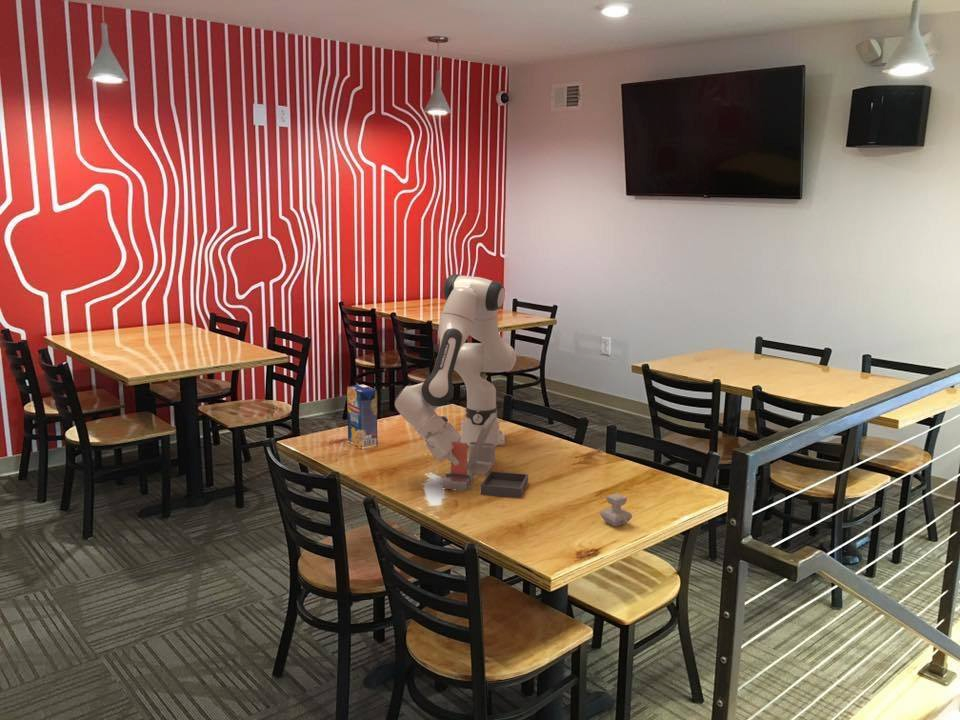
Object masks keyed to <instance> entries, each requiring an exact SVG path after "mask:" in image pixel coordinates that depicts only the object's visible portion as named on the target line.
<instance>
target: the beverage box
mask: <svg viewBox="0 0 960 720" xmlns="http://www.w3.org/2000/svg"><path fill="white" fill-rule="evenodd" d="M346 395H347V397H346V400H347V401H346V402H347V441H348V440H349V441H350V442H352V443H354V444H356V445H358V446H359V447H361V448H362V447H368V446H373V445H378V389H376V388H373V387H370V386H368V385H366V384H364V383H363V384H355V385H349V386H347V387H346Z"/></svg>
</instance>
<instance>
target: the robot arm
mask: <svg viewBox="0 0 960 720" xmlns="http://www.w3.org/2000/svg"><path fill="white" fill-rule="evenodd" d="M442 290H443V291H442V295H443V297H444V299H445V303H444V306H443V309H442V312H441V315H440V319H439V323H438V330H437V331H438V332H437V334H438V335H437V336H438V338H439V349H438V354H437V356H436V359H435V364H434V366H433V369H432V371H431V373H430V374H429V375H428V376H427V377H426V378H425V380H424V381H422V382H421V383H417V384H413V385H406V386H404V387H403V388H402V389H401V390H400V391H399V393H398V394H397V395H396V397H395V399H394V407H395V409H396V410H397V412H398V413H399V414H400V416H401V417H402V418H403V419H404V420H405V421H406V422H407V423H408V424H410V425H411V426H412V428H413V429H414V431H415V432H416V433H417V434H418V435H419V437H421V439H423V440H424V442H425V446H426V448H427V449H428V450H429V452H430V454H431V455H433V456H434V457H433V458H435V459H436V460H437V461H440V462H441V461H442V460H444V459H446V460H447V461H449V462H450V463H451V462H452V463H453V464H454V465H455V466H456V465H458V464H459V462H460V460H459V459H458V458H456V457H454V456H453V455H452V453H451V450H452V449H453V448H454V446H453V445H452V442H461V443H467V447H468V444H469V443H470V442H477V439H478V436H479V434H480V431H481V429H482V427H483V425H484V423H485V421H486V420H487V419H488V418H489V417H490V416H491V415H492V413H494V414H496V415H497V417H496V420H495V422H494V424H493V426H492V428H491V430H490V432H489V434H488V436H487V438H486V440H485V442H484V443H492V444H495V447H496V446H497V447H498V446H504V445H505V444H506V439H505V438H506V436H505V435H506V434H505V431H503V430H500V420H499V418H498V409H497V390H496V387H495V385H494V384H493V383H492V382H490V381H488V380H487V379H484V378H483V377H481V375H480V374H481V373H504V372H509V371H511V370H513V368H514V366H515V364H516V362H517V353H516V351H515V349H514V348H513V346H511V345H510V344H508V343H507V342H506V341H505V340H504V339H503V338H502V336H501V334H500V332H499V331H500V330H499V324H498V323H499V322H498V321H499V319H498V317H499V315H498V313H499V311H498V310H499V309H501V308H502V306H503V305H504V302H505V299H506V298H505V297H506V289H505V287H504V285H503V283H501V282H499V281H496V280H490V279H488V278H484V277H479V276H472V275H461V274H459V273H458V274H457V273H456V274H451V275H450V276H448V277H447V278H446V279H445V281H444V284H443V288H442ZM469 336H471V338H473V340H474V339H475V340H477V341H479V343H478V342H466V341H467V339H469ZM454 371H455V372H456V373H457V374H458V375H459V376H460V377H461V379H462V381H463V382H464V384H465V389H466V406H465V411H464V412H465V418H463V419H462V421H461V426H460V427H461V429H460V430H461V432H460V433H459V431H457V430H456V428H455V426H453V424H451V423H450V422H449V419H448V417H446V416H445V415H443V416H442V415H438V414H437V412H435V411H436V409H437V408H441V407H443V406H445V405H446V404H448V403H449V402H450V401H451V400H452V398H453V395H454V383H453V374H454Z"/></svg>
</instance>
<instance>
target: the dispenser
mask: <svg viewBox="0 0 960 720" xmlns="http://www.w3.org/2000/svg"><path fill="white" fill-rule="evenodd" d="M475 479H476V475H475V470H467V475H458V474H451V469H449V471H448V473H445V476H444V477H443V478H442V480H441V481H442V483H441V484H442V488H448V489H456V490H455V491H459V490H464V491H463V492H467V491H468V490H467V489H469V488H470V487H471V485H472V484H473V482H474V481H475ZM473 480H474V481H473ZM471 483H472V484H471ZM469 486H470V487H469ZM442 488H441V489H442ZM448 489H447V490H448ZM466 490H467V491H466Z"/></svg>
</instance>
